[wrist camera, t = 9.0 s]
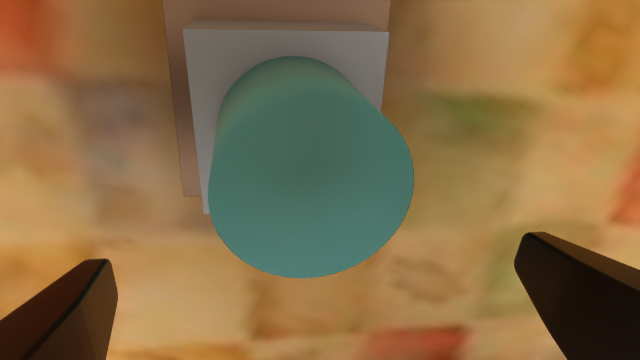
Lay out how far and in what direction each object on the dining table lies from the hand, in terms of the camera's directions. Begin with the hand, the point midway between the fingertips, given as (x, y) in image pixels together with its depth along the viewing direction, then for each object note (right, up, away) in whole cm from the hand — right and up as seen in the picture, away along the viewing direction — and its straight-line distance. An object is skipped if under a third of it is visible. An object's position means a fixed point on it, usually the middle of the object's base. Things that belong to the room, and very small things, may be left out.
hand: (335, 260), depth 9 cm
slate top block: (-2, +5, +9) cm, 11 cm away
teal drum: (-1, +4, +7) cm, 8 cm away
